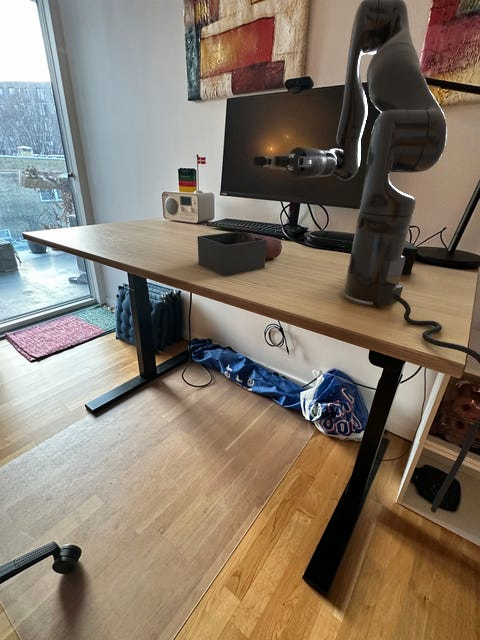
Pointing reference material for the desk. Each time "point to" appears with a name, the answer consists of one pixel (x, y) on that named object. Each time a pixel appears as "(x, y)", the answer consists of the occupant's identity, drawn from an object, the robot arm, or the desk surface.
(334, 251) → the desk surface
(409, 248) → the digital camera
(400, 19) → the robot arm
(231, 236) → the bin
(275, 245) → the can
